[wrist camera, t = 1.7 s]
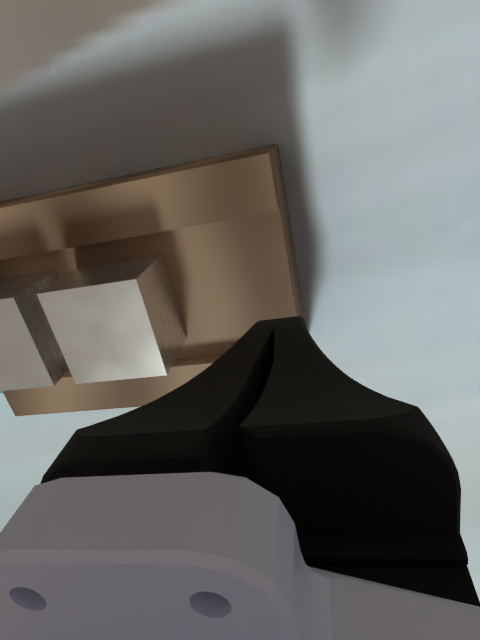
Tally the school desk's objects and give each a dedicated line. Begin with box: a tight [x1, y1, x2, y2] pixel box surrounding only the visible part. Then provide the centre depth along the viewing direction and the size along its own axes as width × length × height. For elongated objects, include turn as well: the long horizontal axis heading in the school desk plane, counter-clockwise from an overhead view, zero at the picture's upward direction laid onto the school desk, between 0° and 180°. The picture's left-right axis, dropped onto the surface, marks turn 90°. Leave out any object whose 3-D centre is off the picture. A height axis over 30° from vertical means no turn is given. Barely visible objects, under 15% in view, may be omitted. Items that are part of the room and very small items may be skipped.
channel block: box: [0, 144, 304, 416], centre depth 20 cm, size 15×10×5 cm, turn 102°
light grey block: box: [0, 271, 69, 391], centre depth 18 cm, size 4×4×3 cm
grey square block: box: [37, 253, 187, 384], centre depth 17 cm, size 4×4×3 cm
